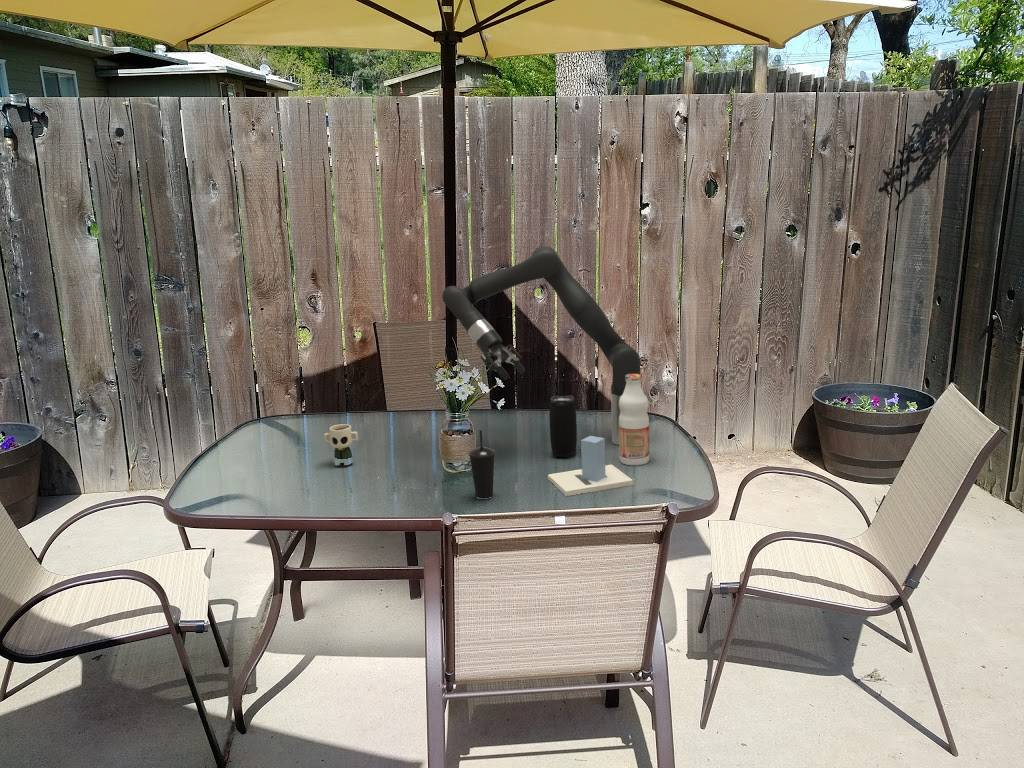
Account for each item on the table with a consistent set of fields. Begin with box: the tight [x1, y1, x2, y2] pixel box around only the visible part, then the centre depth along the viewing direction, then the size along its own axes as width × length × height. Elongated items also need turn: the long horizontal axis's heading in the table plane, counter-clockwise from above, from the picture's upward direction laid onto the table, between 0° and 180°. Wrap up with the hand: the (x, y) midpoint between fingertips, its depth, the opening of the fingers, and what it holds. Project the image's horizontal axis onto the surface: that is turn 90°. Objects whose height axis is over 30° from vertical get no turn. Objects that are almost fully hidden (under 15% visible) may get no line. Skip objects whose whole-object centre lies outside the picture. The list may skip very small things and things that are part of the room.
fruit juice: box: [618, 374, 650, 466], centre depth 254 cm, size 9×9×28 cm
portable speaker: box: [549, 394, 578, 459], centre depth 264 cm, size 9×9×20 cm
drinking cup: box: [468, 429, 496, 498], centre depth 232 cm, size 8×8×20 cm
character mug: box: [323, 423, 359, 459], centre depth 266 cm, size 11×7×13 cm, turn 90°
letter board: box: [547, 464, 634, 497], centre depth 242 cm, size 21×15×2 cm
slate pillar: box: [580, 435, 606, 482], centre depth 240 cm, size 5×5×12 cm
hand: (515, 375), depth 256 cm, fingers open, 8 cm apart
